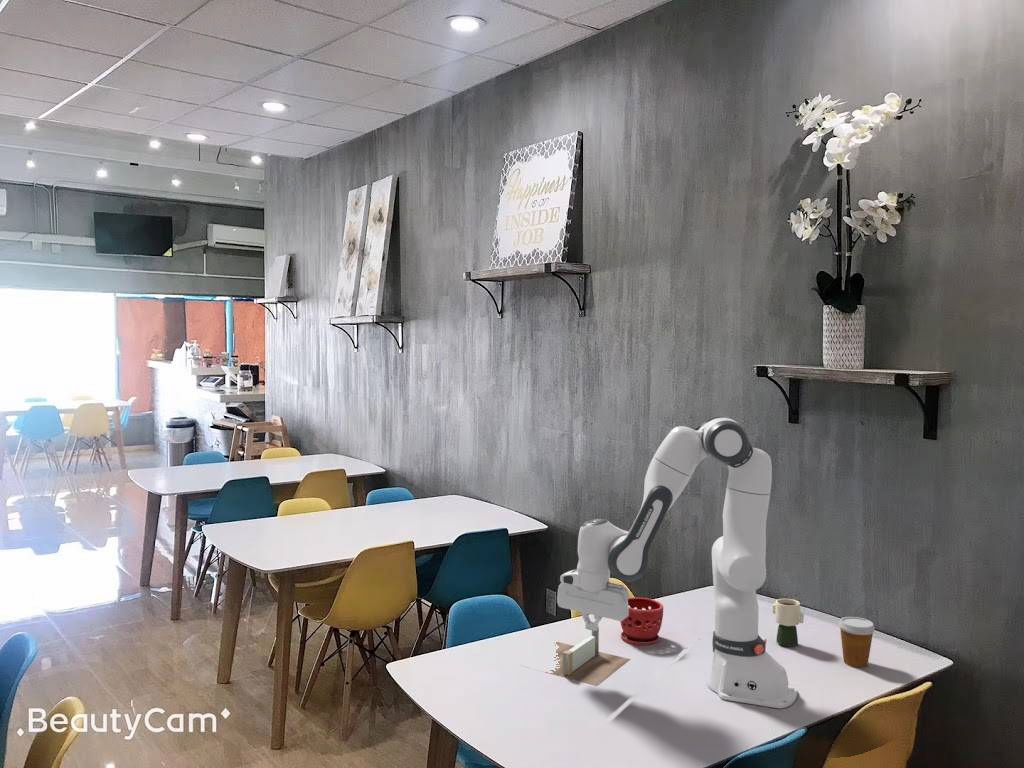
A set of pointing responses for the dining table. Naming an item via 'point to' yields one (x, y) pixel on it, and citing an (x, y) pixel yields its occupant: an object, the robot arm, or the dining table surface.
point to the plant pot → (642, 622)
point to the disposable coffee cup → (856, 640)
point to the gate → (578, 655)
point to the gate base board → (590, 664)
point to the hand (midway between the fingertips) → (591, 629)
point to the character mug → (787, 620)
